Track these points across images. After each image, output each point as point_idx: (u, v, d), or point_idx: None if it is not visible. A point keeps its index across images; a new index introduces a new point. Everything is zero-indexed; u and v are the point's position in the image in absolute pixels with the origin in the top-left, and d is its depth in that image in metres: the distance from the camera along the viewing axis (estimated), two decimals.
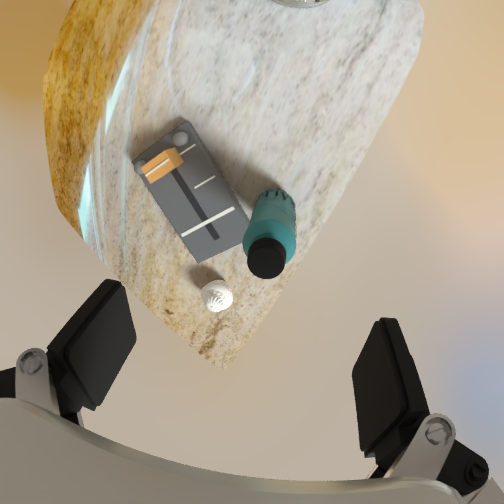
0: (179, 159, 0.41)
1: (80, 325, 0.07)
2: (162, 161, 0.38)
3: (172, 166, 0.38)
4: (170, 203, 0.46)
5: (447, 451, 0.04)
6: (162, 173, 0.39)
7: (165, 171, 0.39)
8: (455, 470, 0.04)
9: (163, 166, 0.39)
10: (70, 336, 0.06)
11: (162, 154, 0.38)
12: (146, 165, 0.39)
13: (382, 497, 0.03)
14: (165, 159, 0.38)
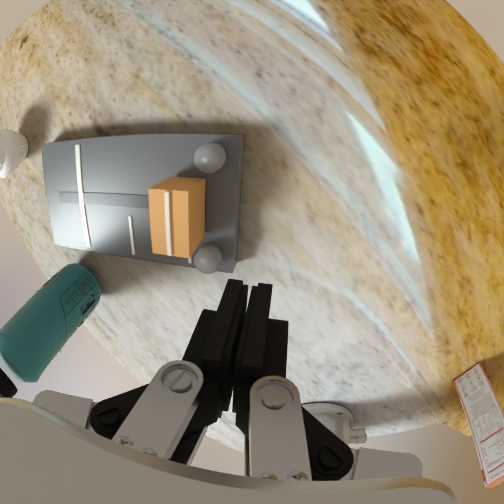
0: None
1: (227, 328, 0.08)
2: (172, 241, 0.20)
3: (155, 250, 0.20)
4: (126, 159, 0.22)
5: (299, 406, 0.06)
6: (153, 225, 0.19)
7: (153, 233, 0.20)
8: None
9: (164, 236, 0.20)
10: (225, 341, 0.07)
11: (185, 249, 0.20)
12: (184, 207, 0.18)
13: (382, 497, 0.03)
14: (173, 248, 0.20)
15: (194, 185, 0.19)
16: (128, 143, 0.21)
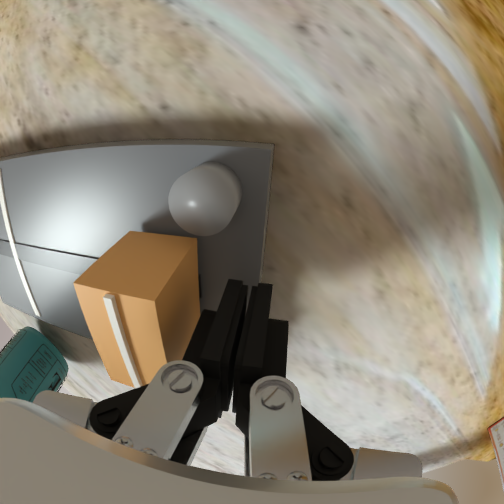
0: None
1: (227, 328, 0.08)
2: (141, 375, 0.09)
3: (114, 377, 0.10)
4: (58, 195, 0.11)
5: (299, 406, 0.06)
6: (100, 345, 0.09)
7: (104, 355, 0.09)
8: None
9: (123, 364, 0.09)
10: (225, 341, 0.07)
11: None
12: (152, 329, 0.08)
13: (382, 497, 0.03)
14: (144, 383, 0.09)
15: (171, 269, 0.09)
16: (58, 166, 0.10)
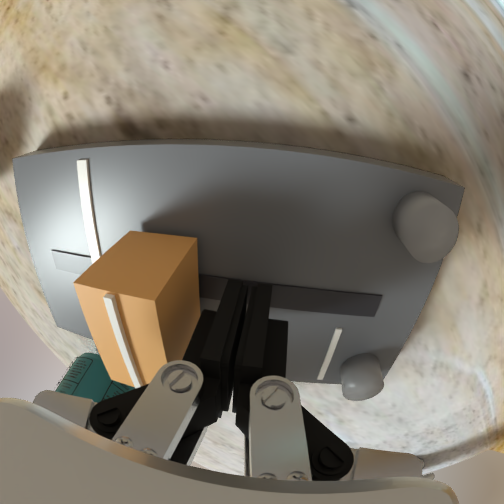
0: None
1: (227, 328, 0.08)
2: (141, 375, 0.09)
3: (114, 377, 0.10)
4: (210, 203, 0.10)
5: (299, 406, 0.06)
6: (100, 344, 0.09)
7: (104, 355, 0.09)
8: None
9: (123, 364, 0.09)
10: (225, 341, 0.07)
11: None
12: (152, 329, 0.08)
13: (382, 497, 0.03)
14: (144, 383, 0.09)
15: (171, 269, 0.09)
16: (217, 165, 0.10)
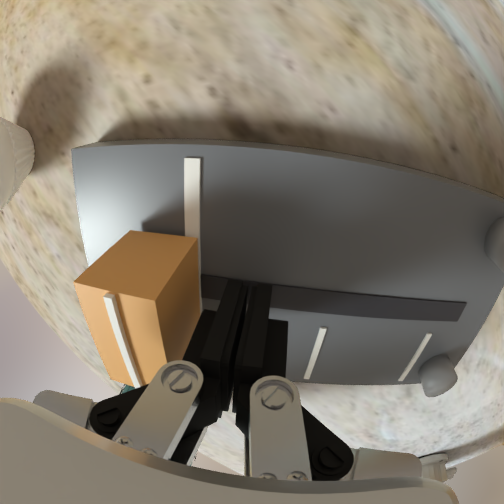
0: None
1: (227, 328, 0.08)
2: (140, 374, 0.09)
3: (114, 377, 0.10)
4: (350, 220, 0.10)
5: (298, 406, 0.06)
6: (100, 344, 0.09)
7: (104, 355, 0.09)
8: None
9: (123, 364, 0.09)
10: (225, 341, 0.07)
11: None
12: (153, 329, 0.08)
13: (382, 497, 0.03)
14: (143, 383, 0.09)
15: (172, 269, 0.09)
16: (364, 183, 0.09)
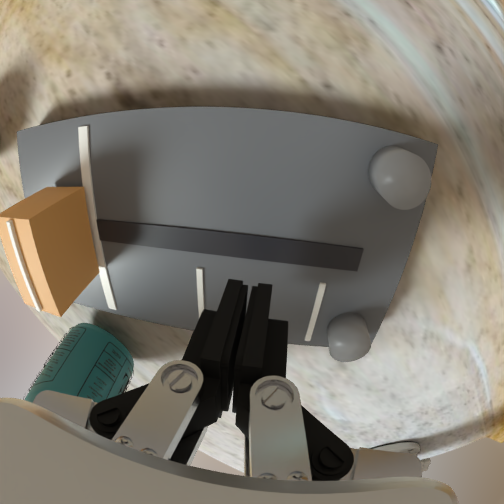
0: None
1: (227, 328, 0.08)
2: (36, 292, 0.10)
3: (26, 300, 0.11)
4: (198, 158, 0.11)
5: (299, 406, 0.06)
6: (13, 267, 0.10)
7: (16, 278, 0.10)
8: None
9: (26, 284, 0.10)
10: (225, 341, 0.07)
11: (53, 305, 0.10)
12: (31, 244, 0.09)
13: (382, 497, 0.03)
14: (39, 302, 0.10)
15: (51, 204, 0.10)
16: (204, 124, 0.10)
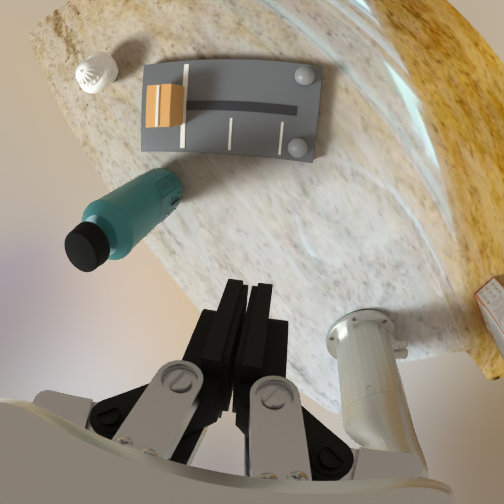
0: None
1: (227, 328, 0.08)
2: (159, 116, 0.27)
3: (147, 125, 0.27)
4: (234, 76, 0.28)
5: (299, 406, 0.06)
6: (148, 108, 0.26)
7: (147, 113, 0.27)
8: None
9: (154, 114, 0.27)
10: (225, 341, 0.07)
11: (167, 121, 0.27)
12: (168, 93, 0.25)
13: (382, 497, 0.03)
14: (159, 121, 0.27)
15: None
16: (237, 64, 0.27)
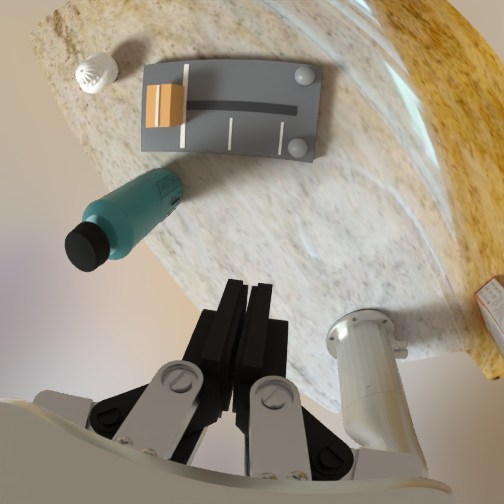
0: None
1: (227, 328, 0.08)
2: (159, 116, 0.27)
3: (147, 125, 0.27)
4: (234, 76, 0.28)
5: (299, 406, 0.06)
6: (148, 108, 0.26)
7: (147, 113, 0.27)
8: None
9: (154, 114, 0.27)
10: (225, 341, 0.07)
11: (167, 121, 0.27)
12: (168, 93, 0.25)
13: (382, 497, 0.03)
14: (159, 121, 0.27)
15: None
16: (237, 64, 0.27)
